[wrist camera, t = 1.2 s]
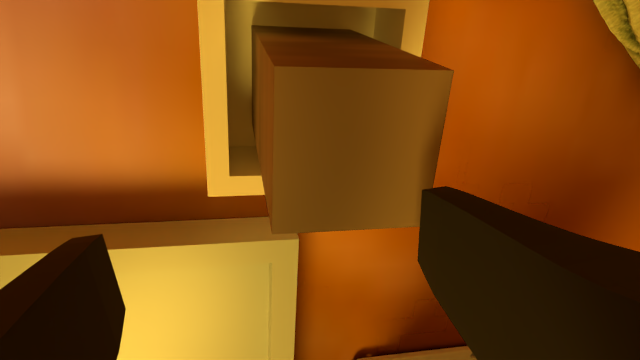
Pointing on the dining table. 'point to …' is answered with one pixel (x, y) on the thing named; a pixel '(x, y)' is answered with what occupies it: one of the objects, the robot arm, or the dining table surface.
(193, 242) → the cream square frame
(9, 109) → the dining table surface
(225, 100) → the square open box
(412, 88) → the walnut peg
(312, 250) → the dining table surface
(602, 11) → the washcloth
